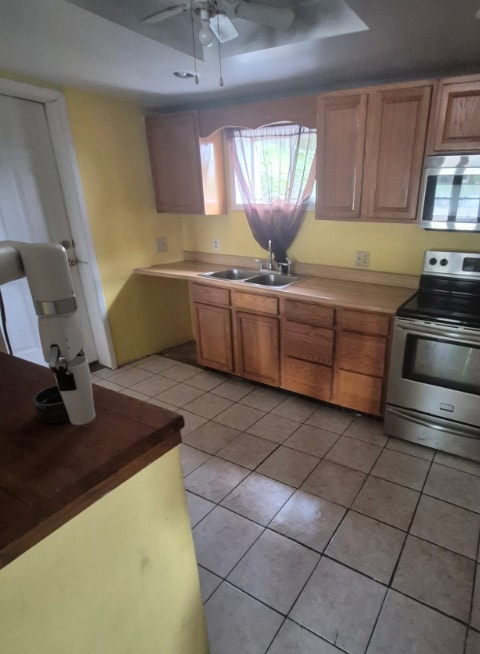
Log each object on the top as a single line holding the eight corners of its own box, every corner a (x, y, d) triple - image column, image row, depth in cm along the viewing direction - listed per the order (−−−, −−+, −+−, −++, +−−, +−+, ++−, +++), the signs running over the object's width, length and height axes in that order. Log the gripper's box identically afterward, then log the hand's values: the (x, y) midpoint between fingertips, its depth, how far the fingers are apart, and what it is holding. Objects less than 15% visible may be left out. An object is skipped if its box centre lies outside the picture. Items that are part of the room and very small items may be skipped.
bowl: (30, 427, 88) (23, 407, 86) (49, 402, 98) (44, 384, 96) (81, 422, 90) (76, 402, 88) (95, 399, 100) (91, 381, 98)
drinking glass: (69, 414, 89) (55, 357, 83) (101, 410, 91) (89, 354, 85) (64, 430, 83) (48, 370, 77) (97, 425, 85) (85, 366, 79)
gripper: (53, 295, 83) (70, 366, 90) (14, 319, 68) (38, 403, 75) (89, 294, 85) (103, 364, 92) (60, 317, 69) (79, 400, 76)
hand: (74, 381), depth 83 cm, fingers closed on drinking glass, 6 cm apart
